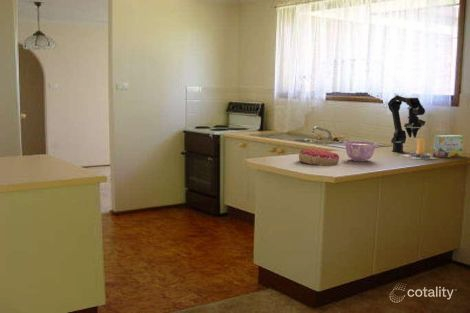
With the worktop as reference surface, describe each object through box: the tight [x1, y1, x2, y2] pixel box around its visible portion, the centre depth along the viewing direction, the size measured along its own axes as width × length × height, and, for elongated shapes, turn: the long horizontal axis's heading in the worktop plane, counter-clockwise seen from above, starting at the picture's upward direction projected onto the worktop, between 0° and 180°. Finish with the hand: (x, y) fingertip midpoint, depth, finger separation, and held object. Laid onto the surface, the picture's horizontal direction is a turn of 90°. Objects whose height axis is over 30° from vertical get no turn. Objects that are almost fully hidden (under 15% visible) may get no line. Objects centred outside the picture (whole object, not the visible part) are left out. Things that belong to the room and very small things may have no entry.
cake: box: [298, 148, 340, 166], centre depth 327 cm, size 25×25×8 cm
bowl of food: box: [344, 140, 377, 162], centre depth 338 cm, size 20×20×12 cm
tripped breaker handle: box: [415, 138, 426, 154], centre depth 355 cm, size 3×4×10 cm
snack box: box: [432, 134, 464, 158], centre depth 364 cm, size 21×6×15 cm, turn 112°
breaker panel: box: [400, 150, 439, 161], centre depth 357 cm, size 18×17×4 cm
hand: (412, 137), depth 365 cm, fingers open, 9 cm apart
